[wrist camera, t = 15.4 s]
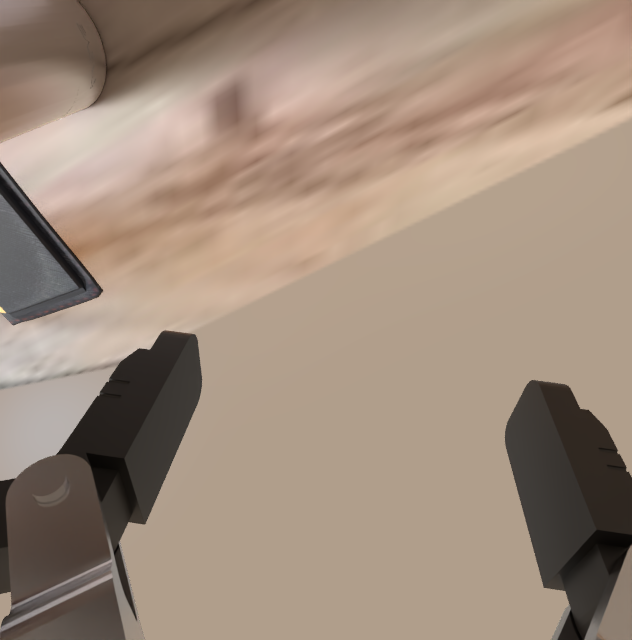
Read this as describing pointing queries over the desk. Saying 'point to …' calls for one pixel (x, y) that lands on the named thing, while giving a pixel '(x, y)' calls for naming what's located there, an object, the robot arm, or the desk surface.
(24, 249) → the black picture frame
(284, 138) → the desk surface
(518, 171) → the desk surface
